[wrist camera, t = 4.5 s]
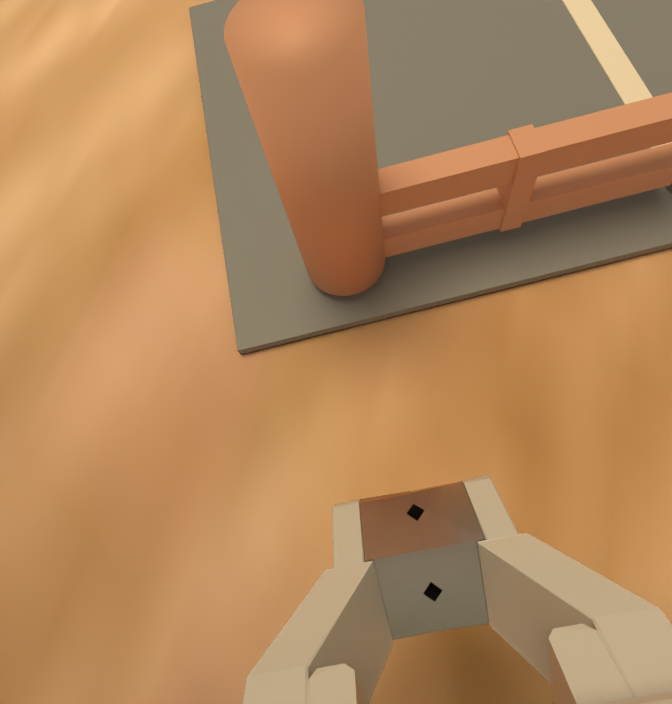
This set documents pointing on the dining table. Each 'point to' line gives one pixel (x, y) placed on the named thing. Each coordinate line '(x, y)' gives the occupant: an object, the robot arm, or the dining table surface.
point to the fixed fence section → (669, 188)
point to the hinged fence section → (416, 175)
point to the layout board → (441, 150)
